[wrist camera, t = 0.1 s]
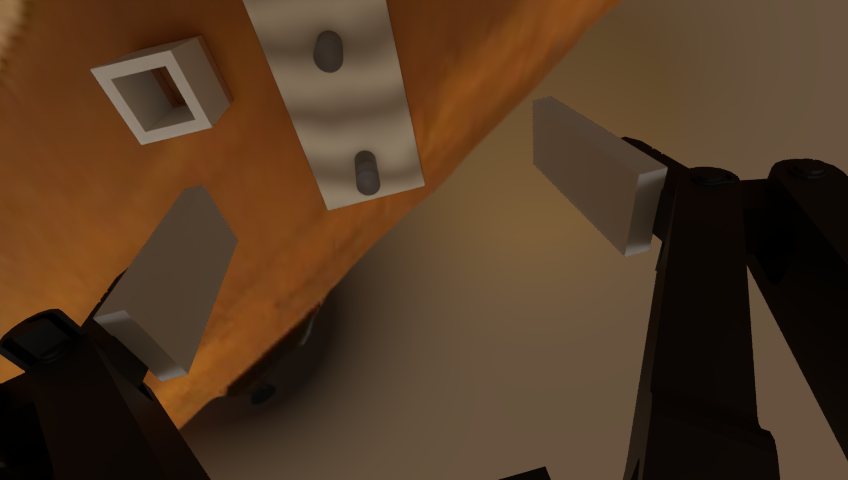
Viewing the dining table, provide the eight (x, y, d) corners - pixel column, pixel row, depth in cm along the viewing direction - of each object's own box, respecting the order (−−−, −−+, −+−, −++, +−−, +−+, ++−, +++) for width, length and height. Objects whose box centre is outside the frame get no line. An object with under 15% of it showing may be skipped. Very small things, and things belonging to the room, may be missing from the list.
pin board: (245, -4, 33) (224, 3, 27) (377, -35, 34) (385, -35, 28) (328, 204, 47) (326, 239, 41) (422, 180, 47) (434, 211, 41)
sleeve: (136, 50, 34) (89, 69, 28) (201, 34, 35) (170, 50, 28) (174, 114, 38) (141, 144, 32) (233, 100, 38) (212, 127, 32)
